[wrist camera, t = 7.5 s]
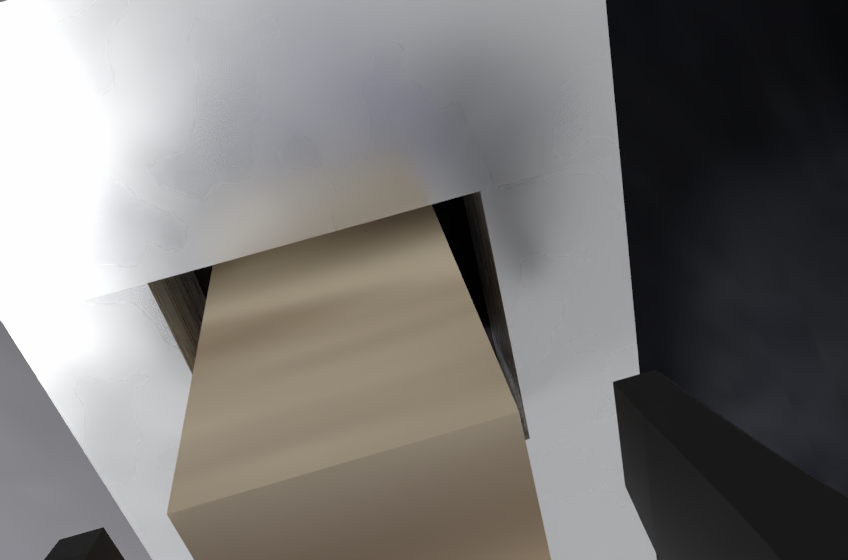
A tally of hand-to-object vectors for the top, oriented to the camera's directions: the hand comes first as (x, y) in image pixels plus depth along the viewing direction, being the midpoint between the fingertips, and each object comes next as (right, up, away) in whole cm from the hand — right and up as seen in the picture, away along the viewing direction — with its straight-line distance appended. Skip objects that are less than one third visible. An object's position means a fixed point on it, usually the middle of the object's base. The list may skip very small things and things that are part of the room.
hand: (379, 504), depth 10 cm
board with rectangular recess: (0, +1, +6) cm, 6 cm away
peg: (-1, +3, +5) cm, 6 cm away
